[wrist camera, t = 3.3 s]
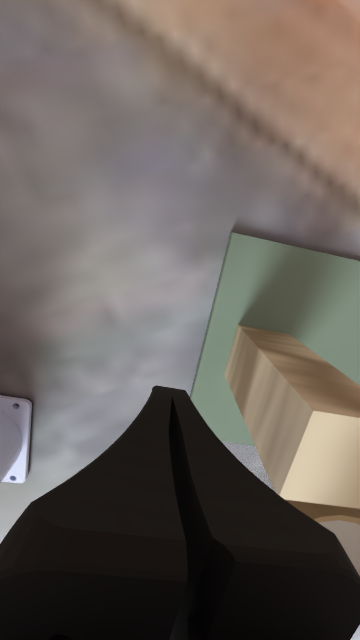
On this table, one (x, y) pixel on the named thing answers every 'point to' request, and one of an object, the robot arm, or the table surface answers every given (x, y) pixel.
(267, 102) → the table surface
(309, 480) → the birch block
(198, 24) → the table surface
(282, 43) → the table surface
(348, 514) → the alarm clock
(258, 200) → the table surface
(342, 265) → the rubber mat
